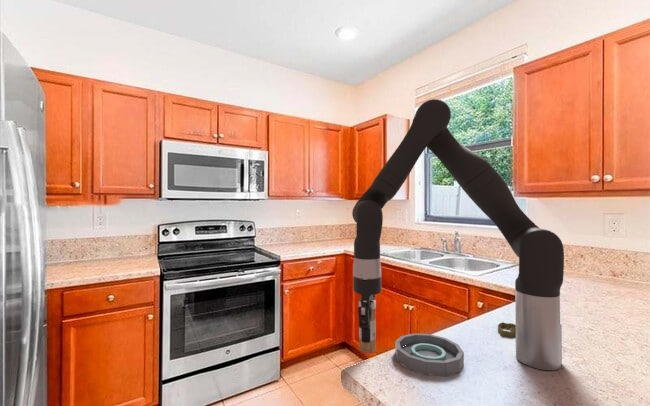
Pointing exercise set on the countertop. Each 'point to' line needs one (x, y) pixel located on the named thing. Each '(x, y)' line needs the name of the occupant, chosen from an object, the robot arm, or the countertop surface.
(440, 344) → the grey ring dish
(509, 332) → the cookie cutter
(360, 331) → the sprinkles bottle
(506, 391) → the countertop surface
